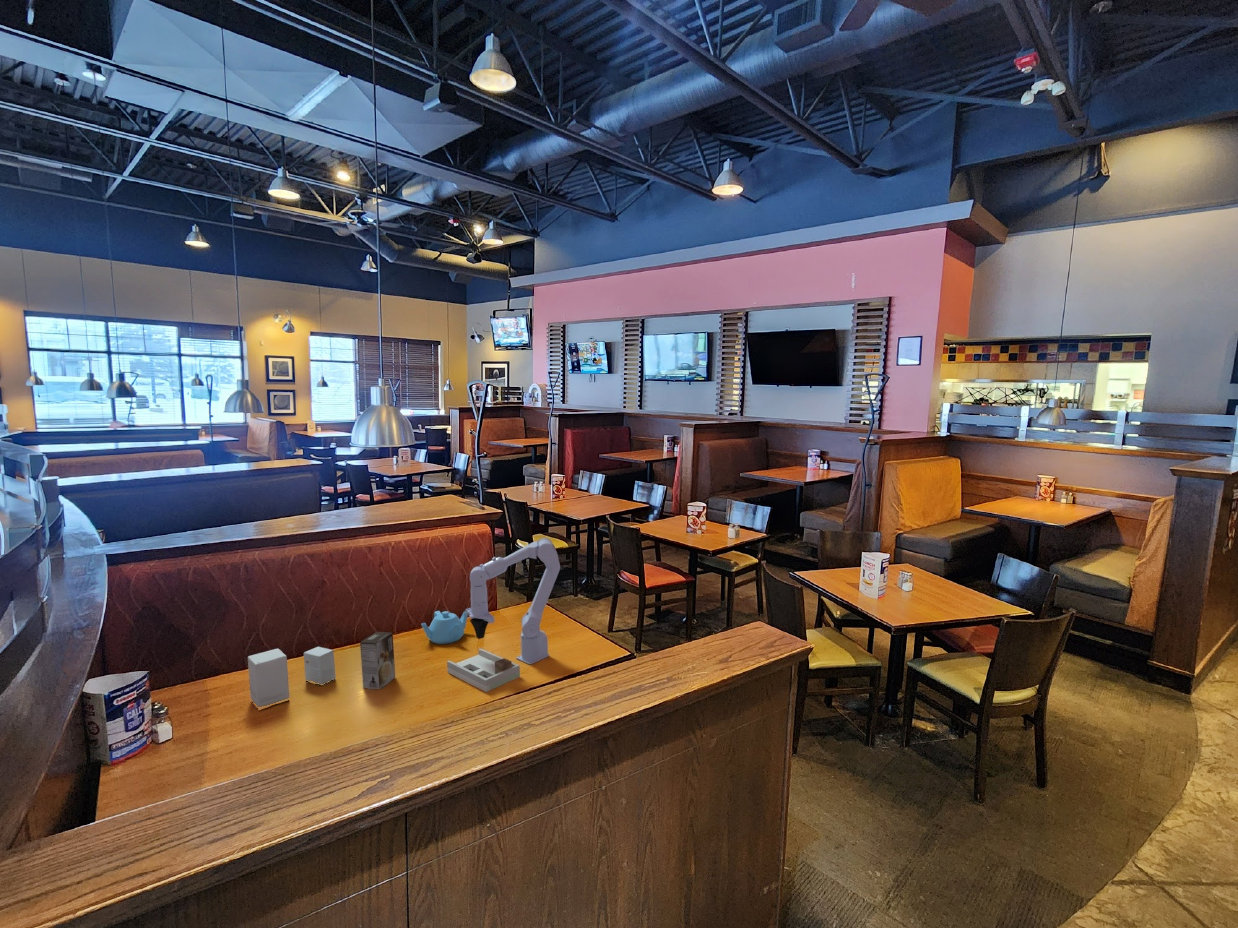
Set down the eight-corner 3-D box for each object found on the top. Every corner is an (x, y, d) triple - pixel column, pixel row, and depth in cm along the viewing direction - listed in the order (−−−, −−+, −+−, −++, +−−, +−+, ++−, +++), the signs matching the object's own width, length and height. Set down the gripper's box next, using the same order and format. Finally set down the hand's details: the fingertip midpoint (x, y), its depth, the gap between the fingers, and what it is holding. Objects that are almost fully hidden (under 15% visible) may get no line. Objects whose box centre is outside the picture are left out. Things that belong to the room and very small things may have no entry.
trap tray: (481, 658, 211) (480, 648, 211) (519, 676, 197) (519, 665, 196) (447, 672, 200) (447, 661, 200) (486, 692, 186) (485, 680, 186)
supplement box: (290, 701, 182) (287, 655, 180) (258, 711, 176) (254, 664, 174) (282, 691, 188) (278, 647, 187) (250, 701, 182) (246, 655, 180)
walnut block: (504, 669, 198) (504, 657, 198) (511, 672, 195) (511, 661, 195) (495, 673, 195) (494, 661, 195) (502, 676, 192) (501, 665, 192)
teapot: (471, 630, 238) (470, 605, 237) (460, 645, 223) (459, 618, 222) (434, 630, 238) (433, 605, 237) (421, 645, 224) (419, 618, 222)
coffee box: (379, 675, 198) (376, 630, 197) (395, 677, 197) (393, 632, 196) (362, 688, 189) (359, 641, 188) (379, 690, 188) (377, 643, 187)
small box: (336, 679, 196) (334, 649, 195) (321, 686, 191) (319, 656, 190) (319, 675, 200) (318, 645, 198) (305, 682, 194) (303, 652, 193)
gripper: (457, 599, 207) (459, 636, 208) (482, 608, 198) (483, 646, 199) (474, 594, 212) (475, 630, 214) (498, 602, 203) (500, 640, 204)
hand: (480, 637), depth 207 cm, fingers closed
